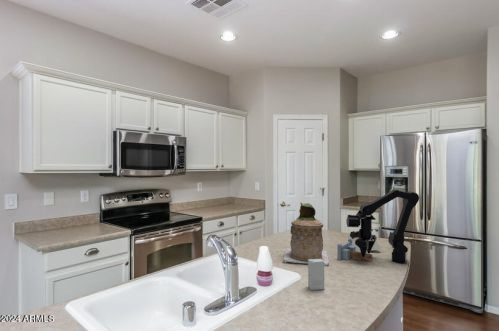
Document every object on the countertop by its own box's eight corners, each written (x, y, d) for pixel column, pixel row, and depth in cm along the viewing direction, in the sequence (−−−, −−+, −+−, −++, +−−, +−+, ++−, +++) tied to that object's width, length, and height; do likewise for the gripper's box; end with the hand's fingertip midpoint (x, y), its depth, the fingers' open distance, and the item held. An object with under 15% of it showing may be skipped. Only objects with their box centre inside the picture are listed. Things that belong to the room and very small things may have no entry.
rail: (372, 260, 167) (372, 254, 167) (370, 262, 164) (370, 255, 164) (349, 256, 175) (349, 250, 175) (347, 257, 173) (347, 251, 173)
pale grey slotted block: (380, 256, 187) (370, 236, 199) (382, 249, 182) (372, 228, 193) (353, 260, 188) (345, 240, 199) (355, 253, 182) (347, 232, 193)
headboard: (357, 253, 180) (357, 239, 180) (345, 261, 165) (345, 245, 165) (348, 252, 183) (348, 237, 183) (336, 259, 169) (336, 243, 169)
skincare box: (321, 285, 131) (321, 258, 132) (324, 290, 127) (324, 261, 127) (307, 286, 131) (307, 258, 131) (310, 290, 126) (310, 261, 126)
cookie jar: (329, 266, 157) (330, 205, 156) (282, 263, 161) (283, 204, 161) (327, 253, 181) (327, 200, 181) (286, 250, 186) (286, 199, 186)
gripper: (357, 223, 180) (357, 249, 180) (345, 228, 165) (345, 256, 165) (376, 225, 173) (376, 252, 173) (366, 230, 158) (366, 260, 158)
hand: (366, 255), depth 168 cm, fingers open, 9 cm apart
